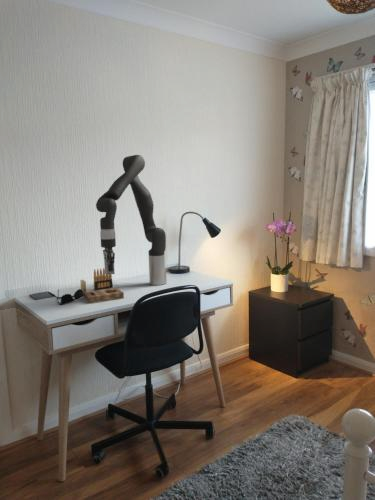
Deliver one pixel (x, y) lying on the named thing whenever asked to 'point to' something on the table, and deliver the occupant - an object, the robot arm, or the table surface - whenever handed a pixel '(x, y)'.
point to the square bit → (107, 267)
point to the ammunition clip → (102, 280)
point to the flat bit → (83, 285)
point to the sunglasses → (69, 297)
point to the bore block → (103, 295)
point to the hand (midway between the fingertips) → (109, 270)
